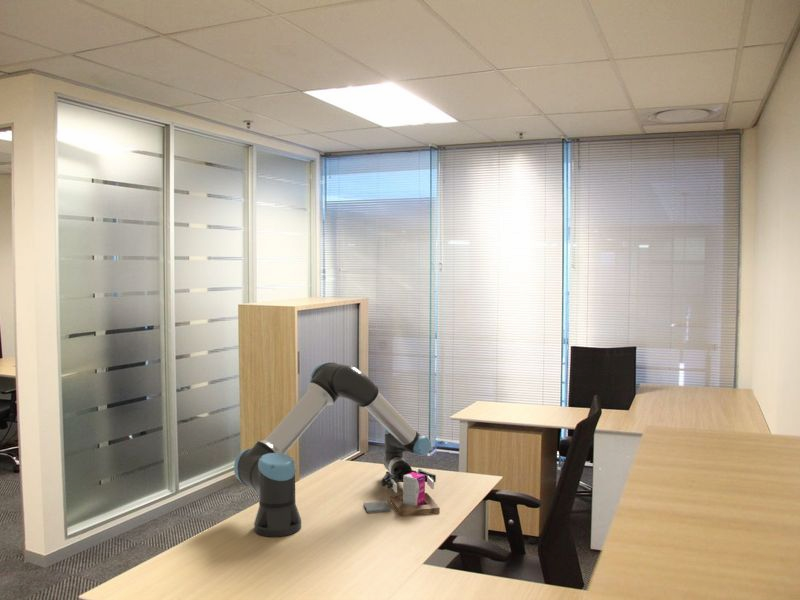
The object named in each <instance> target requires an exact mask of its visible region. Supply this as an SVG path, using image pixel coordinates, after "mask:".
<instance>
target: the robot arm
mask: <svg viewBox="0 0 800 600" xmlns="http://www.w3.org/2000/svg"><path fill="white" fill-rule="evenodd" d="M307 388H308V390H307V391H306V392H305V393H304V394H303V396H302V397H301V398H300V399H299V400H298V402H297V403H296V404H295V405H294V406H293V407H292V408H291V410H290V411H289V412H288V413H287V414H286V415H285V417H284V418H283V419H282V420H281V421H280V422H279V423H278V425H277V426H276V427H275V428H274V429H272V431H271V433H270V434H269V435H268V436H267V437H266V438H265V439H263V440H258V441H257V442H256V443H255V444H254V445H253V447H252V448H246V449H244V450H242V451H240V453H239V454H238V455H237V456H236V458H235V460H234V464H233V468H234V469H233V472H234V475H235V476H236V479H237V480H238V481H239V482H240V483H242V484H243V485H245V486H248V487H250V488H252V489H254V490H257V491H258V500H259V501H258V502H259V503H258V504H259V505H258V510H257V513H256V515H255V519H254V523H253V525H254V527H253V529H254V532H255V533H256V534H257V535H260V536H263V537H270V538H271V537H272V538H275V537H285V536H289V535H292V534H295V533H297V532H298V531H300V530H301V529H302V517H301V516H300V513H299V510H298V507H297V504H296V471H297V470H296V465H295V460H294V458H293V457H291V456H290V455H288V454H287V453H288V451H289V450H290V449H291V448H292V447H293V446H294V445H295V444H296V443H297V441H298V440H299V438H300V437H301V436H302V435H303V434H305V431H306V430H307V429H308V428H309V427H310V426H311V424H312V423H313V422H315V420H316V419H317V417H318V416H319V415H320V414H321V413H322V411H323V410H325V408H326V407H327V406H333V405H334V404H335V403H336V401H337V400H338V399H339V398H343V399H347V400H350V401H351V402H354V403H355V404H356V405H357V406H358V407H359V408H364V409H365V410H366V411H367V412H368V413H370V414H371V416H373V418H375V420H376V421H378V423H380V425H381V426H382V427H384V454H383V457H382V462H383V466H384V468H385V469H386V470H387V471H386V472H385V475H384V476H383V477H382V478H381V487H387V489H392V490H393V492H394V493H398V484H397V483H403V476H404V475H406V474H409V473H412V472H414V473H418V474H423V475H425V483H426V484H427V485H428V486H429V487H430V489H431V490H435V483H436V482H437V480H436V479H437V475H436V474H434V473H431V472H429V471H428V472H427V471H425V470H423V469H421V468H418V469H417V471H416V470H414V469H412V467H411V465H410V463H408V462H407V461H406V460H405V457H404V453H405V452H406V453H409V454H411V455H412V454H413V455H415V456H419V457H425V456H427V455H428V454H429V452H430V450H431V448H432V442H431V440H430V438H429V437H427V436H425V435H422V434H421V433H419V432H418V431H417V430H416V429H415V428H414V427H413V426H412V425H411V424H410V423H409V422H408V421H407V420H406V418H404V416H403V415H401V414H400V412H398V411H397V409H396V408H395V407H393V406H392V405H391V403H390V402H389V401H388V399H386V398H385V397H384V396H383V395H382V394H381V393H380V388H379V387H378V386H377V385H376V383H375V382H374V381H372V380H371V379H370V378H369V376H367V375H366V374H365V373H364V372H363V371H361V370H360V369H359V368H357V367H355V366H352V365H349V364H348V365H347V364H341V363H337V362H334V361H329V362H326V361H325V362H322V363H319V364H318V365H317V366H315V367H314V369H313V370H312V372H311V375H310V381H309V383H308V384H307Z"/></svg>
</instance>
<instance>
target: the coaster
mask: <svg viewBox="0 0 800 600" xmlns="http://www.w3.org/2000/svg"><path fill="white" fill-rule="evenodd" d="M363 507H364V509H365V508H366V509H365V511H366V510H367V511H366V513H367V512H368V513H367V514H370V513H369V512H375V513H382V512H381V511H386V512H391V507H390V506H389V504H388V503H387V501H385V500H384V501H373V502H372V501H371V502H364V503H363Z"/></svg>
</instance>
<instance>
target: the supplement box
mask: <svg viewBox="0 0 800 600" xmlns="http://www.w3.org/2000/svg"><path fill="white" fill-rule="evenodd" d="M402 484H403V485H402V495H403V503H404V505H405V506H406V507H407V506H418V505H425V493H426V482H425V475H423V474H418V473H414V472H412V473H409V474H406V475H404V476H403V482H402Z"/></svg>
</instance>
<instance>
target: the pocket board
mask: <svg viewBox="0 0 800 600" xmlns="http://www.w3.org/2000/svg"><path fill="white" fill-rule="evenodd" d="M389 502H390V504H391V503H392V504H391V505H392V507H393V506H394V507H393V508H394V509H396V510H395V511H396V513H397V512H398V513H397V514H398V515H400V516H401V517H408V516H410V515H411V516H419V515H420V514H422V515H428V514H427V513H432V514H440V506H439V505H438V504H437V503H436V502H435V501H434V499H433V498H432V497H431V496H430V495H429V493H428V492H425V505H418V506H407V507H406V506H405V505H404V503H403V494H402V495H401V494H399V495H389ZM400 516H399V517H400Z"/></svg>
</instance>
